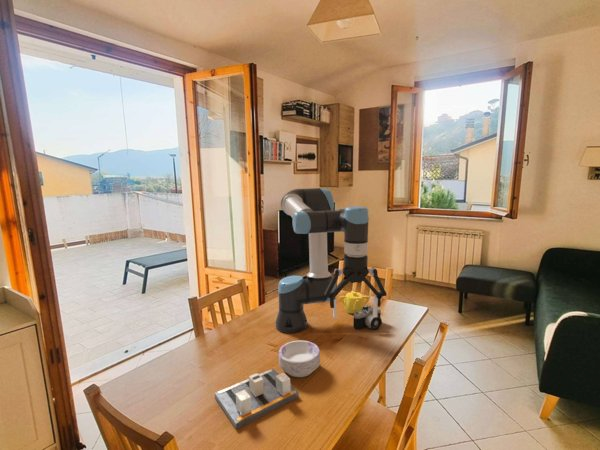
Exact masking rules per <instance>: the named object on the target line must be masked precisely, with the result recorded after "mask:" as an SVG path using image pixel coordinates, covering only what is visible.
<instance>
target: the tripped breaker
mask: <svg viewBox="0 0 600 450" xmlns="http://www.w3.org/2000/svg"><path fill="white" fill-rule="evenodd" d="M259 374H260V373H258V372H256V373H253V374H251V375H249V376H248V379H249V387H250V391H251V393H252V394H253V395H254V396H255V397H257V396H259V395H261V394H263V393H264V385H263V378H262V377H261V376H260V375H259Z"/></svg>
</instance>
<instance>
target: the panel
mask: <svg viewBox="0 0 600 450" xmlns="http://www.w3.org/2000/svg"><path fill="white" fill-rule="evenodd" d="M258 374H259V375H260V376H261V377H262V378H263V385H264V393H263V394H261V395H259V396H257V397H255V396H254V395H253V394H252V393H251V391H250V387H249V378H247V379H245V380H242V381H240V382H237V383H235V384H233V385H231V386H228V387H225V388H224V389H220V390H219V391H215V392H214V399H215V400H216V402H217V403H218V405H219V406H220V407H221V410H223V412H224V413H225V415H226V417H227V418H228V420H229V421H230V423H231V424H232V426H233V427H234V429H235V430H238V429H240V428H242V427H244V426H246V425H248V424H250V423H253V421H256V420H257V419H260V418H262V417H263V416H265V415H267V414H269V413H271V412H273V411H275V410H277V409H280V408H282V406H285V405H287V404H289V403H290V402H292V401H293V402H294V401H295V400H296V399H298V398H299V397H300V392H299V391H298V390H297V389H296V388H295V387H294V386H293V385H291V378H290V377H289V375H287V374H286V372H281V373H279V372H278V371H277V370H275V369H274V368H271V369H268V370H265V371H264V372H261V373H258Z"/></svg>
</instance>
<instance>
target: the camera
mask: <svg viewBox="0 0 600 450" xmlns="http://www.w3.org/2000/svg"><path fill="white" fill-rule="evenodd" d="M381 311H382V310H381V308H380V307H378V311H377V317H375V316H374V315H373V306H371V305H369V304H366V305H365V306H364V307H363V308H362V309H361V312H355V313H354V314H353V323H352V324H353V327H352V328H353V329H355V330H356V331H357V330H363V329H367V328H370V329H372V330H374V331H375V330H379V328H380V327H381V326H382V323H383V321H382V318H381Z"/></svg>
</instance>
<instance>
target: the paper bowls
mask: <svg viewBox="0 0 600 450" xmlns="http://www.w3.org/2000/svg"><path fill="white" fill-rule="evenodd" d="M320 350H321V349H320V348H319V346H318V345H317V344H316V343H314V342H311V341H309V340H293V341H288V342H286V343H284V344H283V345H282V346H280V348H279V349H278V364H279V366H280V369H281V370H282V371H283V372H284V373H287V374H288V376H291V377H294V378H304V377H305V378H306V377H307V376H310V375H311V374H312V373H313V372H314V371H316V370H317V369H318V367H319V366H320V365H321V351H320Z"/></svg>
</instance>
